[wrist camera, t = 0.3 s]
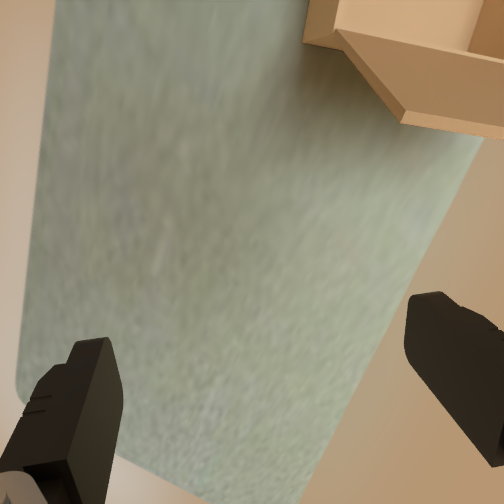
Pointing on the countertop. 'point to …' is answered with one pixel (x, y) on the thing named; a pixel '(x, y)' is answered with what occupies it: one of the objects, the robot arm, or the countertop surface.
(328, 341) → the countertop surface
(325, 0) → the carton
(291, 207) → the countertop surface
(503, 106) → the lid
